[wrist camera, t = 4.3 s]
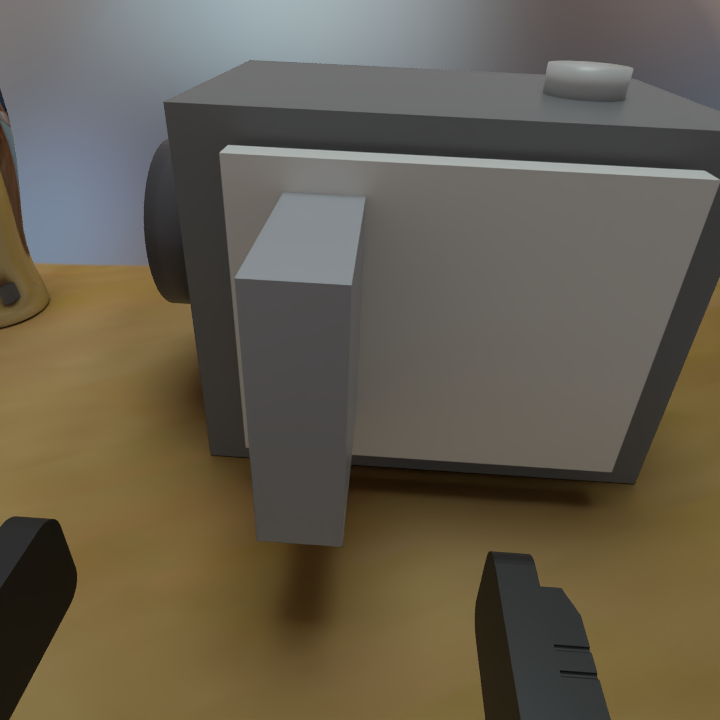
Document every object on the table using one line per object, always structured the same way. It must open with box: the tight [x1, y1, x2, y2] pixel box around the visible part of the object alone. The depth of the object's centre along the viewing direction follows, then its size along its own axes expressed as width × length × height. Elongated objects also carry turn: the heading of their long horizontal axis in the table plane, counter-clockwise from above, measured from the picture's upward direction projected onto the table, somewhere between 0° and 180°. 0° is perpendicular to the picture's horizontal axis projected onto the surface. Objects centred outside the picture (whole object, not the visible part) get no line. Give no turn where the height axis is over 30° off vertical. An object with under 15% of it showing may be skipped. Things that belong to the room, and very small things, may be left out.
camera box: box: [144, 60, 720, 484], centre depth 25 cm, size 21×12×15 cm, turn 87°
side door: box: [219, 145, 720, 547], centre depth 17 cm, size 14×7×11 cm, turn 87°
